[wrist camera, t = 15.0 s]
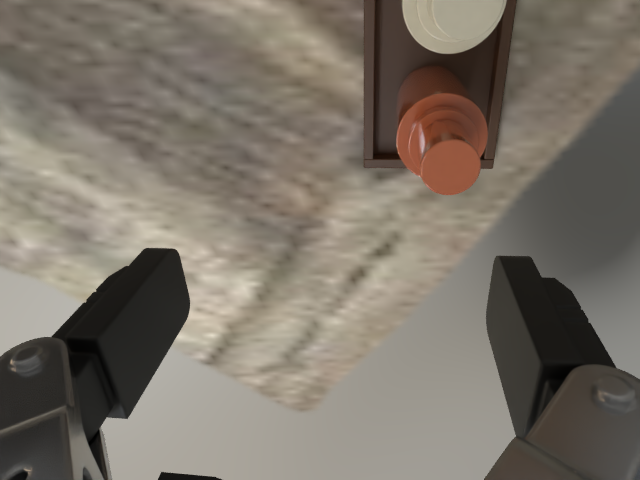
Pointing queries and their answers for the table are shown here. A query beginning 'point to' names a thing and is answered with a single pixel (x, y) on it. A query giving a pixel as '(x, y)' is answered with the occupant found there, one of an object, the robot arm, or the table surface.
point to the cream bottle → (451, 22)
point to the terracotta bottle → (439, 130)
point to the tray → (408, 55)
